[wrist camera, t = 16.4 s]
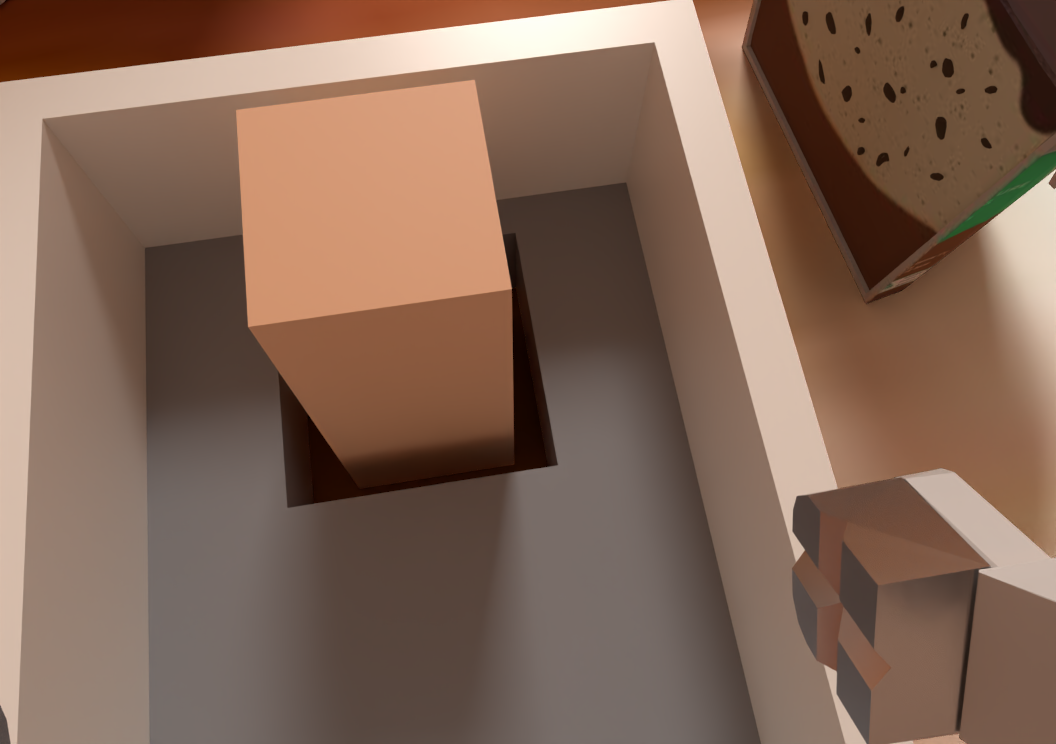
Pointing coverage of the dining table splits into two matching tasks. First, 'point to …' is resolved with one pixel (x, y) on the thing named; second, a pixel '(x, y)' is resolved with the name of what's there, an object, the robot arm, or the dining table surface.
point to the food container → (910, 118)
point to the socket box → (418, 513)
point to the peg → (382, 277)
